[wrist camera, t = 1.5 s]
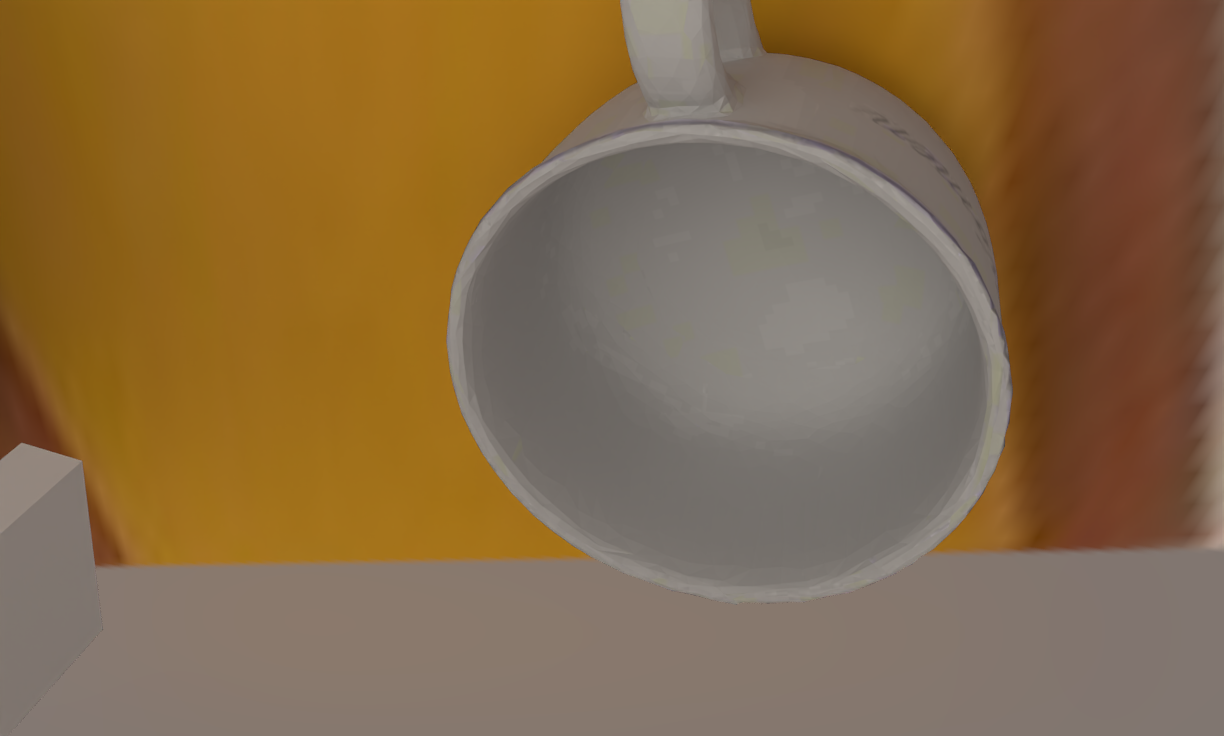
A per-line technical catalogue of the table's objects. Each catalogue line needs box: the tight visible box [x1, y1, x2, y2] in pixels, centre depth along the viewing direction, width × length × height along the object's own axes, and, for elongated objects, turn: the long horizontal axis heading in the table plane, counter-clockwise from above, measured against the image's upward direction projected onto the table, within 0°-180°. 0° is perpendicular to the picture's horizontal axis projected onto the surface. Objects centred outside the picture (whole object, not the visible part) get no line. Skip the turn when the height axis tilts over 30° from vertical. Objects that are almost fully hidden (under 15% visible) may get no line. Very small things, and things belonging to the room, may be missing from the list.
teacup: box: [447, 0, 1013, 605], centre depth 23 cm, size 14×11×8 cm
